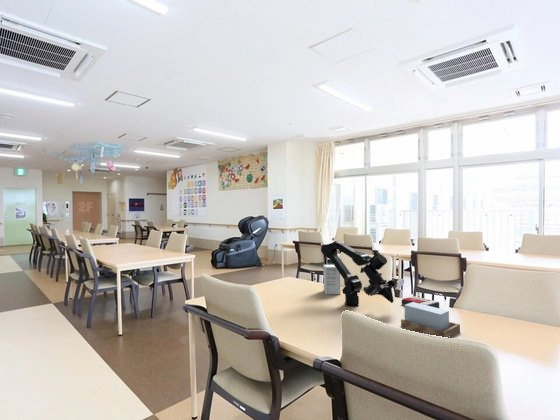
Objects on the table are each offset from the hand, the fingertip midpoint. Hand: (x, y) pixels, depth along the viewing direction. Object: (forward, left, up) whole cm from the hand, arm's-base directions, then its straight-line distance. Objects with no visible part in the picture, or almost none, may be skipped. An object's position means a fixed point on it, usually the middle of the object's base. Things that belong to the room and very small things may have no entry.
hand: (392, 302), depth 146 cm
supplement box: (-24, +43, -7) cm, 50 cm away
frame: (+11, -13, -7) cm, 19 cm away
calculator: (+19, +17, -8) cm, 27 cm away
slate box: (+10, -13, -7) cm, 18 cm away
